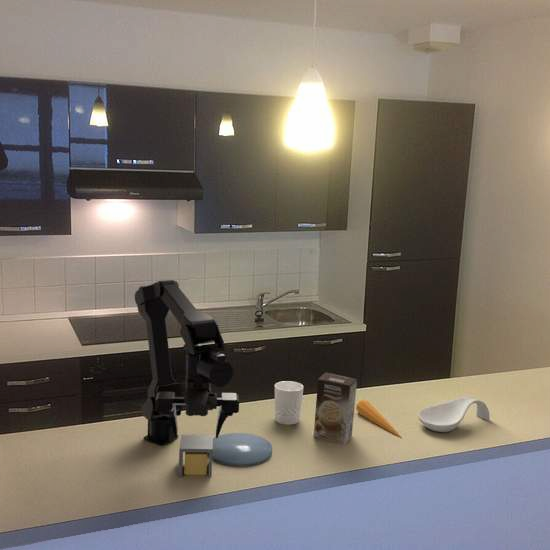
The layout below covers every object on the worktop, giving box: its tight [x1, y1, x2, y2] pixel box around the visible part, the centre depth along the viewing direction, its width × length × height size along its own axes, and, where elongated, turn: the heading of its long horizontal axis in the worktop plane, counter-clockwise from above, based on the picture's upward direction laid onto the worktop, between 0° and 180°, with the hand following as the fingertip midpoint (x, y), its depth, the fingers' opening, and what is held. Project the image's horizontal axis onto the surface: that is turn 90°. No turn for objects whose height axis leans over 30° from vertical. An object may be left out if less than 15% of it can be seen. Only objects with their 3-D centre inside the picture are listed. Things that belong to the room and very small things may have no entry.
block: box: [183, 452, 208, 475], centre depth 157 cm, size 5×5×5 cm
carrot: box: [355, 399, 403, 439], centre depth 188 cm, size 20×4×4 cm, turn 28°
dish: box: [207, 432, 273, 467], centre depth 167 cm, size 16×16×1 cm
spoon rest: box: [417, 396, 491, 433], centre depth 191 cm, size 24×12×7 cm, turn 121°
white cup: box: [274, 380, 304, 426], centre depth 187 cm, size 8×8×10 cm
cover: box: [178, 434, 214, 478], centre depth 156 cm, size 7×7×7 cm
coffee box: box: [313, 372, 358, 445], centre depth 177 cm, size 9×6×16 cm
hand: (196, 437), depth 156 cm, fingers open, 9 cm apart
